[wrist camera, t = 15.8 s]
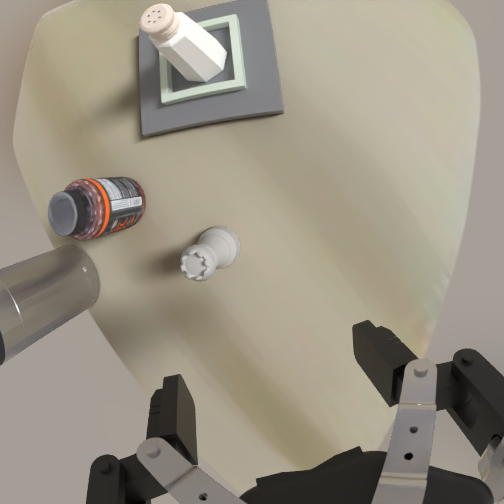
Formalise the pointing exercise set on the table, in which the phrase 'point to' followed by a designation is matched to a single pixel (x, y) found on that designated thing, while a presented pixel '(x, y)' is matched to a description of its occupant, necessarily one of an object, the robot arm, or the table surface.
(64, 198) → the supplement bottle
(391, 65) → the table surface
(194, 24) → the pepper shaker
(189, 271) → the rook chess piece
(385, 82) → the table surface
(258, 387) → the table surface
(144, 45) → the baseplate
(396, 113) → the table surface
